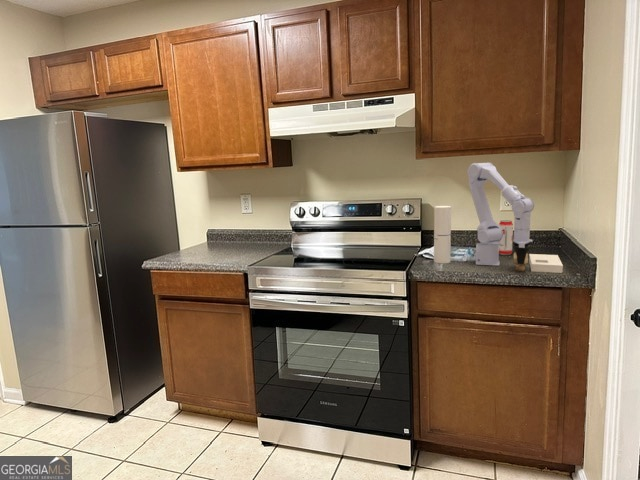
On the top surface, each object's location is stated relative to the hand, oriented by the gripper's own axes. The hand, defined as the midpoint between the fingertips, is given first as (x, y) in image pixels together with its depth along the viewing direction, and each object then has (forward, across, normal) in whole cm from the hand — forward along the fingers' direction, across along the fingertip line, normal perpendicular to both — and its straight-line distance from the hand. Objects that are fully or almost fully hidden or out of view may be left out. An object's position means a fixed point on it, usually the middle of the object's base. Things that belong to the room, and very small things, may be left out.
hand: (520, 261), depth 175 cm
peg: (+3, 0, 0) cm, 3 cm away
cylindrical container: (+4, +8, +32) cm, 33 cm away
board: (+3, +9, -10) cm, 14 cm away
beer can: (+4, +31, +6) cm, 32 cm away
